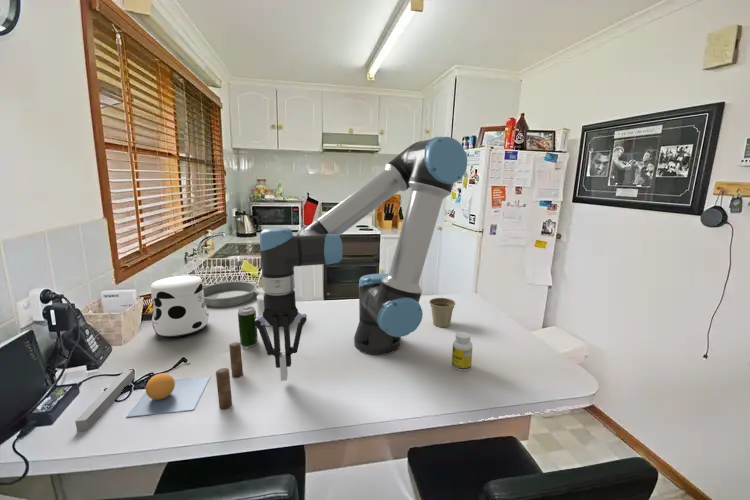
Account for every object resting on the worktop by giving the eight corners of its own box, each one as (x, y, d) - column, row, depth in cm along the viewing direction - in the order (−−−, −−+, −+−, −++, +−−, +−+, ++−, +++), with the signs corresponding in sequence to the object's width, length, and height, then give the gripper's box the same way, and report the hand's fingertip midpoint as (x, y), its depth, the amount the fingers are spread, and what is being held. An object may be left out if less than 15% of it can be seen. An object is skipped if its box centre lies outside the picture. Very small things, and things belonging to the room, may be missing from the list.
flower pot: (425, 327, 125) (426, 304, 123) (431, 317, 133) (432, 296, 132) (451, 331, 121) (453, 308, 120) (456, 321, 130) (457, 299, 128)
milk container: (220, 322, 128) (215, 276, 125) (185, 344, 112) (178, 291, 108) (180, 318, 132) (175, 273, 129) (141, 338, 116) (133, 287, 112)
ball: (148, 386, 86) (173, 393, 88) (137, 401, 81) (164, 408, 82) (157, 365, 86) (181, 372, 87) (146, 378, 80) (173, 386, 82)
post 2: (243, 371, 96) (241, 341, 94) (241, 377, 93) (239, 346, 91) (233, 372, 95) (230, 342, 93) (230, 378, 93) (228, 347, 91)
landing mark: (210, 376, 93) (210, 376, 93) (193, 410, 80) (193, 409, 80) (153, 382, 91) (153, 381, 91) (126, 417, 77) (126, 416, 77)
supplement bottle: (447, 364, 100) (449, 332, 98) (462, 360, 102) (464, 329, 100) (459, 373, 95) (461, 340, 93) (475, 369, 97) (477, 337, 95)
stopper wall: (134, 378, 93) (133, 369, 92) (87, 430, 73) (85, 420, 73) (126, 378, 92) (124, 370, 92) (77, 431, 73) (75, 421, 73)
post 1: (233, 401, 83) (230, 367, 81) (230, 409, 80) (227, 374, 78) (221, 402, 82) (217, 368, 81) (217, 410, 80) (214, 375, 78)
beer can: (242, 349, 108) (239, 313, 106) (238, 343, 113) (235, 308, 110) (260, 345, 111) (257, 310, 109) (255, 338, 116) (253, 304, 113)
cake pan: (219, 313, 139) (218, 302, 138) (186, 301, 152) (185, 291, 151) (268, 296, 159) (268, 286, 158) (235, 287, 172) (234, 278, 171)
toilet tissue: (252, 322, 129) (250, 296, 127) (277, 312, 139) (276, 288, 137) (271, 328, 123) (269, 302, 121) (296, 317, 133) (295, 293, 131)
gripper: (248, 297, 80) (255, 388, 85) (306, 294, 82) (309, 383, 87) (254, 287, 87) (260, 372, 92) (306, 285, 90) (309, 367, 94)
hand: (284, 377), depth 90 cm, fingers closed
